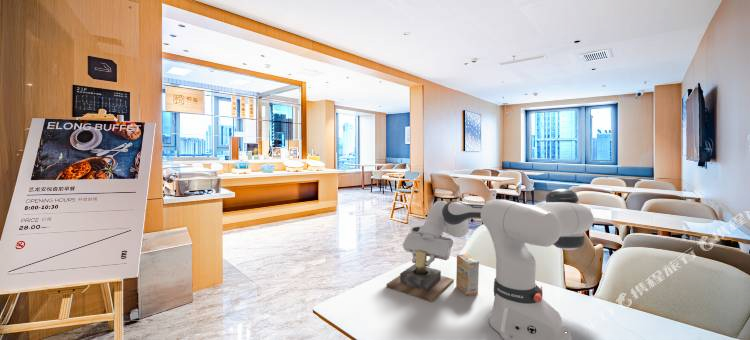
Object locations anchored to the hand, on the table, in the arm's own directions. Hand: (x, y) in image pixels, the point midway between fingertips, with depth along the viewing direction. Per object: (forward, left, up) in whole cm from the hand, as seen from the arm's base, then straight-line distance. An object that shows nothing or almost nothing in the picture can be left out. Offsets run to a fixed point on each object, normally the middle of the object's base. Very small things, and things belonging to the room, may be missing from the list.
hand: (420, 264), depth 123 cm
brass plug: (0, -1, -6) cm, 6 cm away
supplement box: (-17, -7, -9) cm, 20 cm away
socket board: (0, -1, -9) cm, 9 cm away
